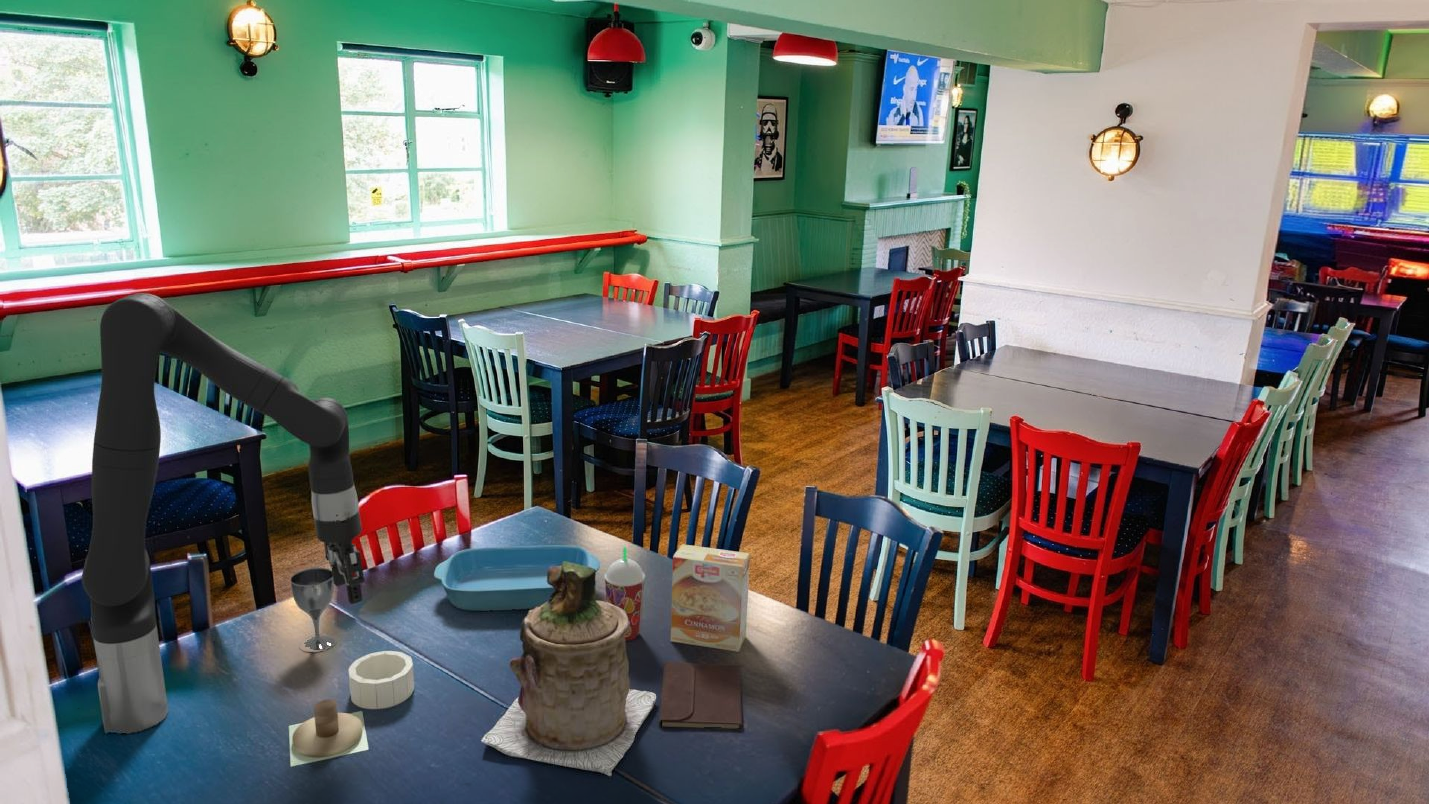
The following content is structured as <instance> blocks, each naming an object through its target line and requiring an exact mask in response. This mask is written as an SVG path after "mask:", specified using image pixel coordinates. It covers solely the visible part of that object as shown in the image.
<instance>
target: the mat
mask: <svg viewBox="0 0 1429 804" xmlns="http://www.w3.org/2000/svg"><path fill="white" fill-rule="evenodd" d="M348 714H351V715H354V716H356V717H357V718H359V720H360V721H361V723H362V736H361V738H360V740H359V741H358V742H357V743H356V744H355V745H354V746H352V747H351V748H349V749H348V750H346V751H344V752H342V753H339V754H336V755H332V756H328V757H320V758H314V757H306V756H303V755H301V754H299V753H297V752H296V751H295V749H294V747H293V740H292V737H293V733H294V731H295V730H296V729H297V728H298V727H299V726H300V725H301V724H302V723H303V722H301V723H296V724H291V725H288V733H289V734H288V735H289V738H288V739H289V756H290V757H289V759H290V767H291V768H292V767H296V766H301V765H305V764H311V763H315V762H319V761H324V760H328V759H333V758H337V757H338V758H339V757H342V756H347V755H350V754H355V753H361V752H365V751H369V742H368V739H367V732H366V727H365V726H366V725H365V720H364V715H363V710H360V711H355V712H351V713H348Z"/></svg>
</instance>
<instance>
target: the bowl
mask: <svg viewBox="0 0 1429 804" xmlns="http://www.w3.org/2000/svg"><path fill="white" fill-rule="evenodd" d="M414 677H415V676H414V663H413V660H412V657H411V656H410V655H408V654H405V653H404V652H402V651H394V650H393V651H392V650H383V651H377V652H371V653H368V654H366V655H363V656H361V657H360V658H357V659H356V660H354V661H353V662H352V663H351V665H350V666H349V667H348V679H349V681H348V682H349V692H350V693H349V694H350V699H351V702H352V703H353V704H354V705H355V706H357V707H359V708H362V709H365V710H380V709H381V710H382V709H383V710H384V709H387V708H391V707H394V706H397V705H399V704H401V703H403V702H405V701H406V700H407V699H409V698H410V697H411V696H412V694H413V692H414V690H415V678H414Z"/></svg>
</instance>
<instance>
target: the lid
mask: <svg viewBox="0 0 1429 804" xmlns="http://www.w3.org/2000/svg"><path fill="white" fill-rule="evenodd" d="M313 713H314V714H313V715H314V717H311V718H309V719H307V720H306V721H304V722H301V723H302V724H301V725H300V726H299V727H298V728H297V729H296V730H295V731H294V733H293V737H292V740H293V747H294V749H295V751H296V752H297V753H299V754H301V755H303V756H306V757H314V758H320V757H328V756H332V755H336V754H339V753H342V752H344V751H346V750H348V749H349V748H351V747H352V746H354V745H355V744H356V743H357V742H358V741H359V740H360V738H361V736H362V723H361V721H360V720H359V718H357V717H356V716H354V715H351V714H349V713H346V712H338V703H337V701H336V700H334V699H322V700H320V701H318V702H316V703H315V704H314V705H313Z"/></svg>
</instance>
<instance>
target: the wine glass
mask: <svg viewBox="0 0 1429 804" xmlns="http://www.w3.org/2000/svg"><path fill="white" fill-rule="evenodd" d="M290 587H291V588H290V589H291V593H292V597H293V599H294V602H295V604H296V606H297V607H298V608H299V609H300V610H302V612H304V613H305V614H307V615H308V616H310V618H311V620H312V623H313V628H314V636H315V637H312V636H311V637H312V638H311V639H309V640H307V642H305V643H304V644H306V645H305V647H310V649H313V650H322V649H323V650H325V649H326V648H327V647H332V644H335V641H338V640H335V639H334V638H333V637H334V636H333V635H331V637H330V636H320V635H321V634H320V619H321V616H322V614H323V613H324V611H325V610H326V609H327V608H328V607H329V605H330V604H331V602H332V601H333V597H334V592H335V584H334V581H333V575H332V569H331V568H330V569H329V568H325V567H311V568H305V569H302V570H300V571H297V572H295V573H294V574H293V575H291V577H290ZM332 636H333V637H332ZM335 645H336V644H335ZM333 647H335V646H334V645H333ZM333 647H332V648H333Z"/></svg>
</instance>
